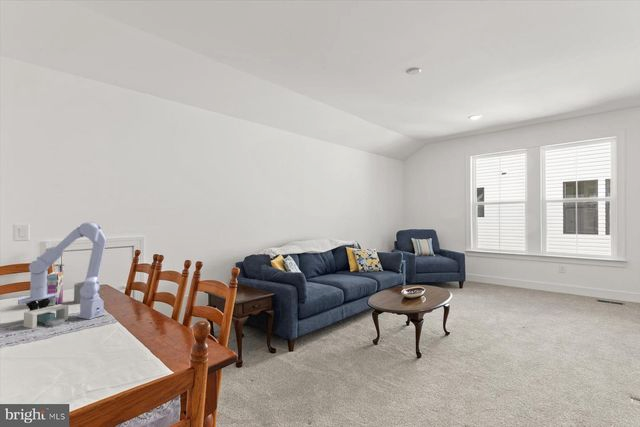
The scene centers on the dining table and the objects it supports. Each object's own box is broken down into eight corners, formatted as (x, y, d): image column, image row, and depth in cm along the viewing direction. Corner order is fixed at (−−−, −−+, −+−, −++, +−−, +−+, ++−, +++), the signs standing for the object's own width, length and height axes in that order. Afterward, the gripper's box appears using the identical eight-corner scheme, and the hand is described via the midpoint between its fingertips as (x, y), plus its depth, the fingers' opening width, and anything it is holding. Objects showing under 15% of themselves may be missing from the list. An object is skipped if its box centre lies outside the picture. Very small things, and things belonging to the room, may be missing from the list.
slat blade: (54, 322, 147) (55, 313, 147) (49, 323, 146) (50, 314, 146) (33, 318, 153) (33, 309, 153) (28, 319, 151) (28, 310, 151)
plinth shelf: (68, 318, 153) (68, 305, 153) (32, 328, 139) (32, 313, 139) (59, 317, 155) (59, 304, 155) (23, 326, 142) (24, 312, 142)
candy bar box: (57, 305, 173) (58, 274, 173) (45, 306, 171) (46, 274, 171) (63, 300, 183) (64, 270, 184) (52, 301, 181) (52, 271, 182)
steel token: (64, 324, 147) (65, 318, 147) (52, 327, 142) (52, 321, 142) (57, 322, 148) (57, 317, 148) (44, 325, 144) (44, 320, 144)
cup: (85, 303, 178) (85, 285, 178) (70, 303, 178) (70, 284, 178) (96, 299, 187) (96, 281, 187) (81, 299, 187) (82, 281, 187)
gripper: (50, 283, 158) (50, 311, 158) (13, 289, 145) (13, 320, 145) (60, 284, 156) (59, 313, 156) (23, 290, 142) (23, 322, 142)
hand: (38, 317), depth 150 cm, fingers closed on slat blade, 2 cm apart
